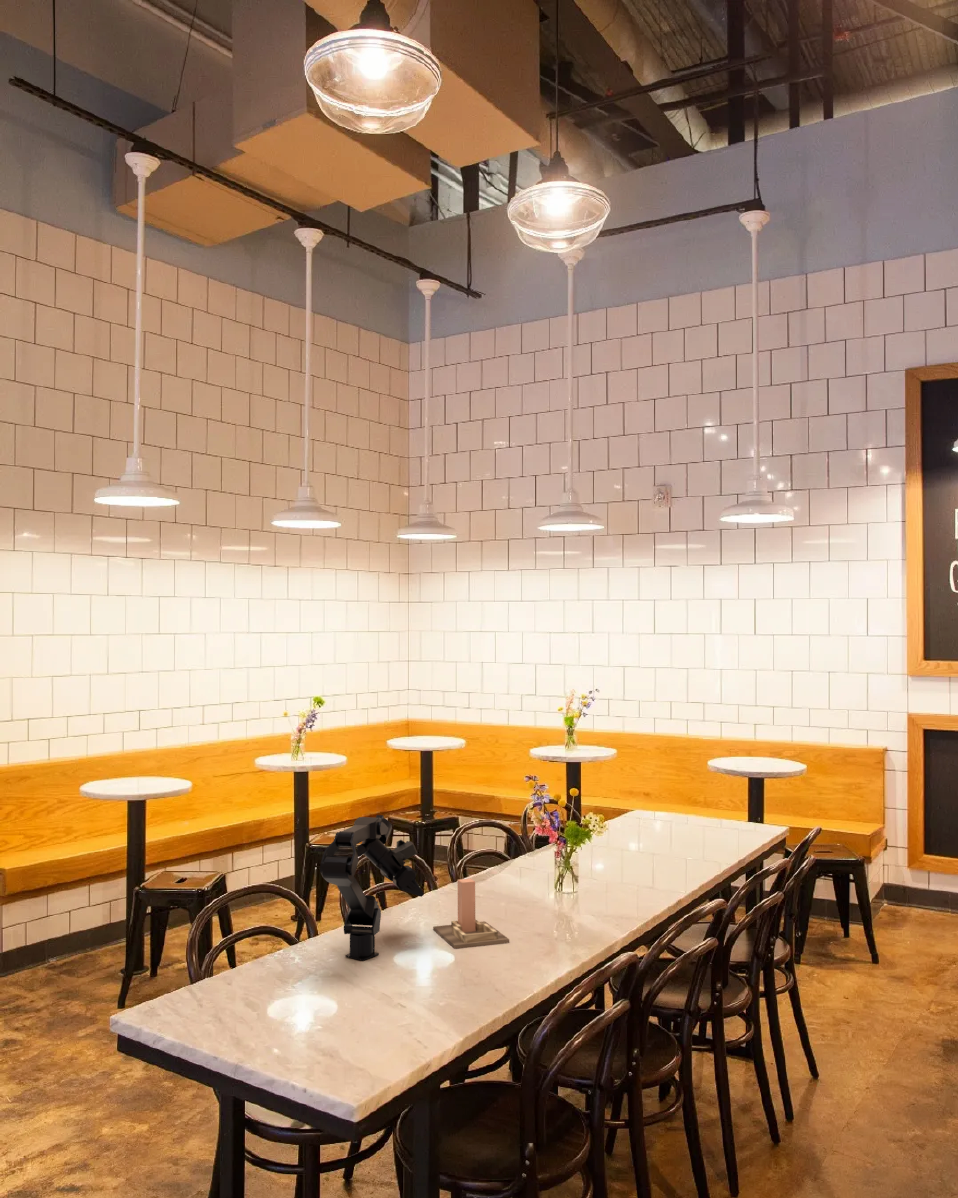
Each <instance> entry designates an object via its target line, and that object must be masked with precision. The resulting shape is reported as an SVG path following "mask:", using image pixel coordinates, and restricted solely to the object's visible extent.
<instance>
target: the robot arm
mask: <svg viewBox="0 0 958 1198" xmlns="http://www.w3.org/2000/svg"><path fill="white" fill-rule="evenodd" d="M392 827H393V825H392V823H391V822H390V821H389V820H388V819H387V818H384V815H383V814H376V816H375V817H366V816H365V817H364V816H361V817H358V818H357V819H356V820H355V821H354V823H353V825H352V826H350V827H348V828H346V829H343V830H339V831H337V832H336V833H335V836H334V838H333V841H332V842H331V843H330V844H329V845H328V846H327V847H326V848H325V849H324V850H323V854H322V857H321V861H320V865H319V873H320V874H321V876H322V878H323V879H324V880H325V881H326V882H327V883H329V884H332V885H334V886H336V887H337V889H338V890H339V892H340V894H341V896H342V897H343V899H344V901H345V902H346V904H347V906H348V908H347V913H346V917H345V920H344V925H343V933H344V935H349V953H346V954H345V955H344V956H345V957H346V958H350V959H353V960H358V961H366V960H368V959H369V960H370V959H371V958H374V957H376V956H379V952H375V951H376V947H375V945H376V943H375V942H376V935H377V934H378V933H379V932H380V928H381V920H382V919H381V917H382V910H381V908H380V906H379V902H378V901H377V899H376V896H374V895H369V894H368V895H366V894H365V893H364V891H363V889H362V887H361V886H360V884H359V882H358V880H357V878H356V877H355V874H356V872H357V868H358V864H359V859H360V858H359V857H361V856H363V855H364V857H366V858H367V859H368V860H369V861H370V862H371V863H372V864H373V865H374V866H375V867H376V868H377V869H379V870H380V874H381V875H382V876H383V877H385V878H386V879H388V880H389V881H390V882H392V883H393V884H394V885H395V886H396V888H398V889H399V890H401V891H403V892H407V893H409V894H413V895H415V896H418V897H421V898H422V897H423V896H424V895H425V894H424V892H423V890H422V888H421V887H420V885H419V884H418V882H417V880H416V876H417V871H416V870H415V869H413V867H411V866H410V865H405V863H406V862H405V860H408V859H410V858H411V857H414V856H416V855H418V850H417V849H416V846H415V845H414V843H413V842H412V841H410V840H407V841H406V842H405V841H404V840H403V839H399V840H398V841H396V847H395V848H394V849H393V850H392V849H391V848H389V847H387V846H386V843H387V841H388V838H389V836H390V834H391V832H392ZM340 848H351V849H352V851H353V853H352V856H350V855H349V856H347V855H335V854H336V853H337V852H339V849H340ZM356 849H357V850H356Z"/></svg>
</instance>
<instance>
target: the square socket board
mask: <svg viewBox="0 0 958 1198" xmlns="http://www.w3.org/2000/svg"><path fill="white" fill-rule="evenodd" d="M450 922H451V924H443V925H437V926H436V925H434V926H433V927H432V930H433V931H434V933H436V934H437V935H438V936H439V937H440V938H441V939H443V940H444V941H445V942H446V943H447V944H448V945H449V946H451V947H452V948H453V949H454V950H456V949H464V948H466V949H467V948H474V947H482V946H483V947H484V946H490V945H491V946H492V945H493V946H494V945H501V944H502V945H503V944H508V943H510V938H508V937H507V936H506V935H504V934H503V933H501V932H500V931H499V930H497V929H496V928H495V927H493V926H492V925H491V924H489V923H488V922H487V921H484V920H483V921H478V920H477V919H476V918H475V929H476V931H472V932H463V931H462V926H460V925H459V924H458V920H453V921H452V920H451V921H450Z"/></svg>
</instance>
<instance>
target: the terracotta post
mask: <svg viewBox="0 0 958 1198" xmlns="http://www.w3.org/2000/svg"><path fill="white" fill-rule="evenodd" d="M475 919H476V880H473V878H460V879H457V921H458V924H459V925H460V926H462V931H463V932H472V931H476V929H475Z"/></svg>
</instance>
